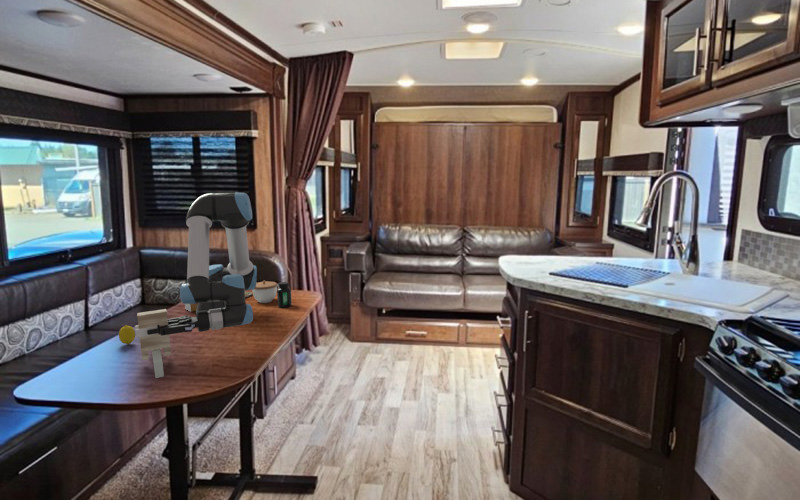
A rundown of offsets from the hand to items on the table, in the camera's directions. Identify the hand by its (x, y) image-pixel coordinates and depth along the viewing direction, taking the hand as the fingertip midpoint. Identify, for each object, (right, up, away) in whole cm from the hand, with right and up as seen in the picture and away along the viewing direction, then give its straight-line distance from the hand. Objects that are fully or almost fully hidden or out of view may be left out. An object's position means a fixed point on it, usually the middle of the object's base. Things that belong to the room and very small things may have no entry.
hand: (136, 331), depth 156 cm
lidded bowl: (+20, +1, +82) cm, 85 cm away
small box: (-10, -1, +69) cm, 70 cm away
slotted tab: (+5, -9, +4) cm, 11 cm away
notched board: (+5, -12, +5) cm, 14 cm away
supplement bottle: (+33, 0, +73) cm, 80 cm away
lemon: (-16, -9, +23) cm, 29 cm away
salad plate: (0, +2, +91) cm, 91 cm away
